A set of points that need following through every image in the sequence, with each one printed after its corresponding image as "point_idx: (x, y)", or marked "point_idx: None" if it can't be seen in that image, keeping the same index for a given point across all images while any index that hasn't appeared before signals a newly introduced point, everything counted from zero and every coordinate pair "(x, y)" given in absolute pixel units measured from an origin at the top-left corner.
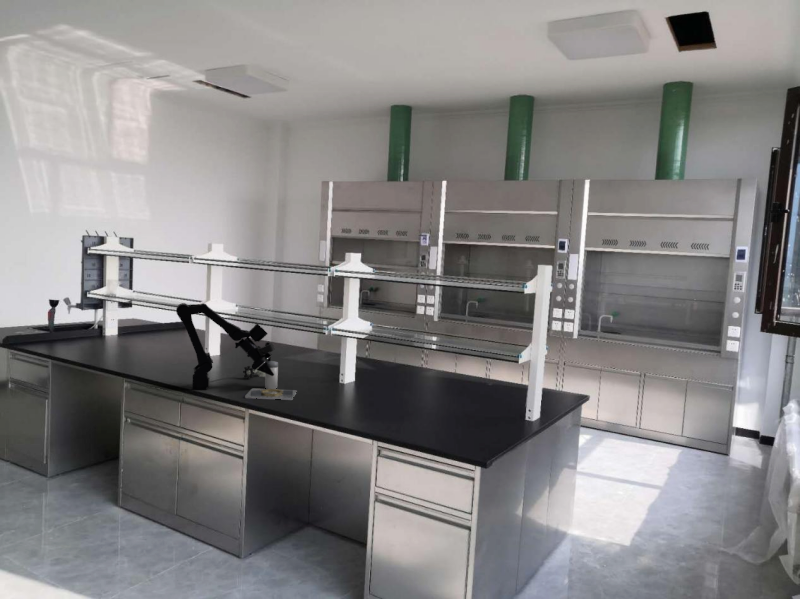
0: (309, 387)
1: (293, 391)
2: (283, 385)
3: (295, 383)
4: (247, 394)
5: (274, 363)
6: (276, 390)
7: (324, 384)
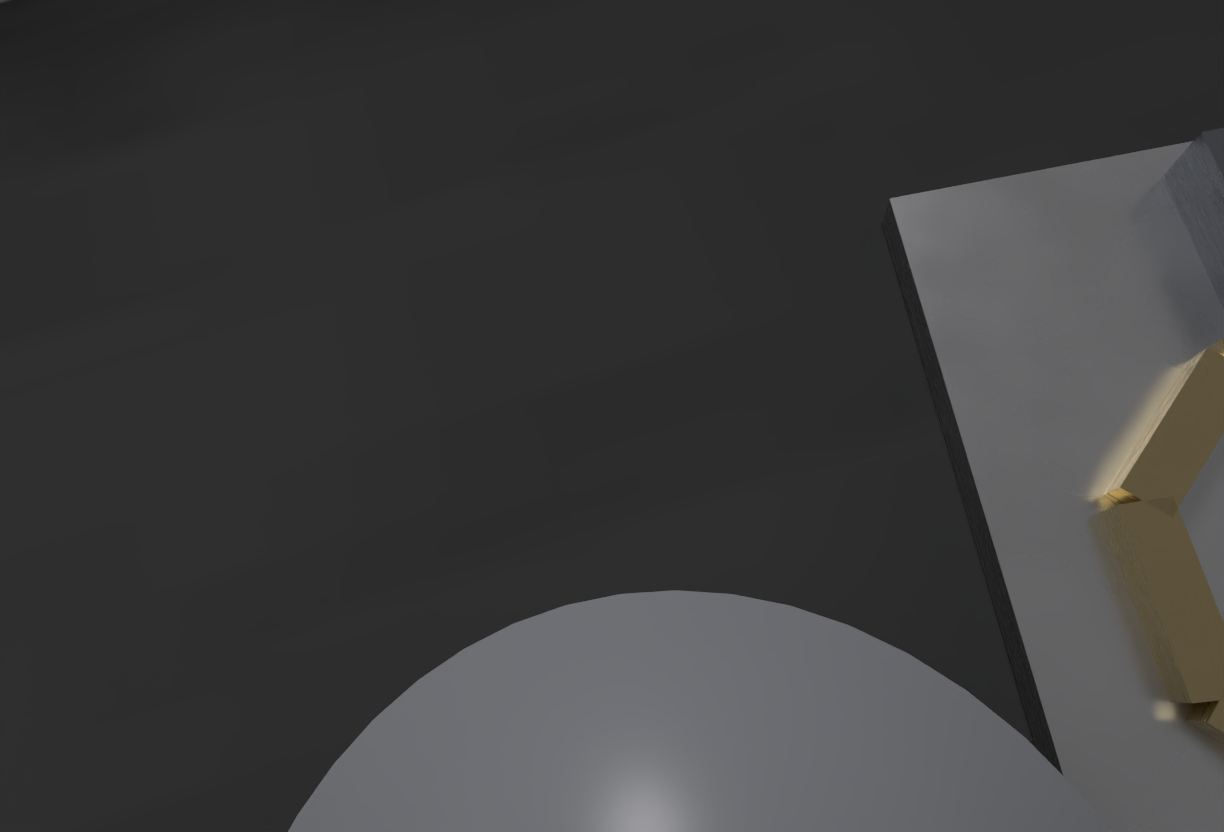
0: (473, 167)
1: (1012, 215)
2: (428, 602)
3: (241, 443)
4: None
5: (1039, 754)
6: (1165, 518)
7: (252, 61)
